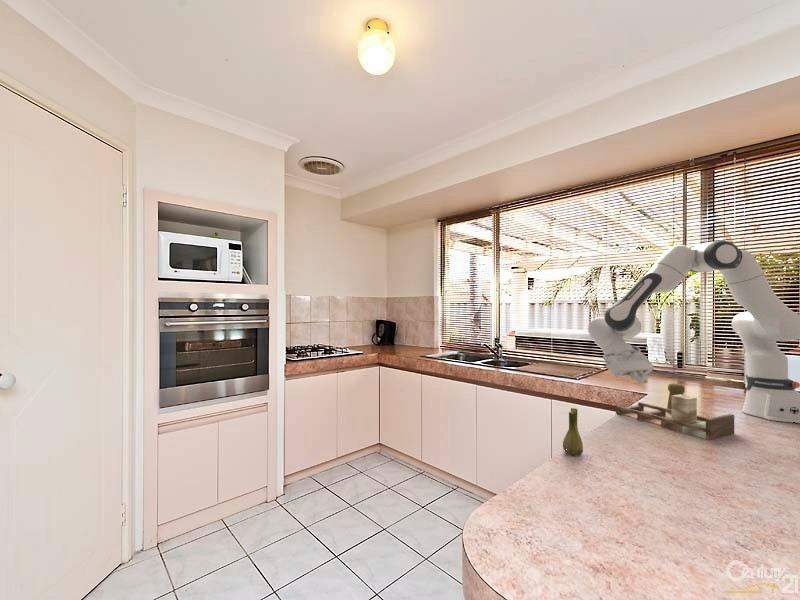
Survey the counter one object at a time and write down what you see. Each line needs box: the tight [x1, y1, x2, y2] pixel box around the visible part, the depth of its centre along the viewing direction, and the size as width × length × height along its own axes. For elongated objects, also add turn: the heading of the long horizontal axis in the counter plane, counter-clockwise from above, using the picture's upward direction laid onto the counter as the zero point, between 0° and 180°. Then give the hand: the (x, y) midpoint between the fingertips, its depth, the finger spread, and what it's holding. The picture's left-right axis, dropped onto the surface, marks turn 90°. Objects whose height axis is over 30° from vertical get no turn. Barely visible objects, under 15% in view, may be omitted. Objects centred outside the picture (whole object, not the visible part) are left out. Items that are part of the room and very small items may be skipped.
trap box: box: [615, 402, 735, 441], centre depth 131 cm, size 30×14×6 cm, turn 25°
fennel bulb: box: [562, 407, 584, 456], centre depth 102 cm, size 6×5×12 cm
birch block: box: [670, 394, 698, 424], centre depth 127 cm, size 5×5×8 cm
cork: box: [666, 383, 686, 415], centre depth 144 cm, size 6×6×11 cm
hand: (644, 383), depth 139 cm, fingers closed
